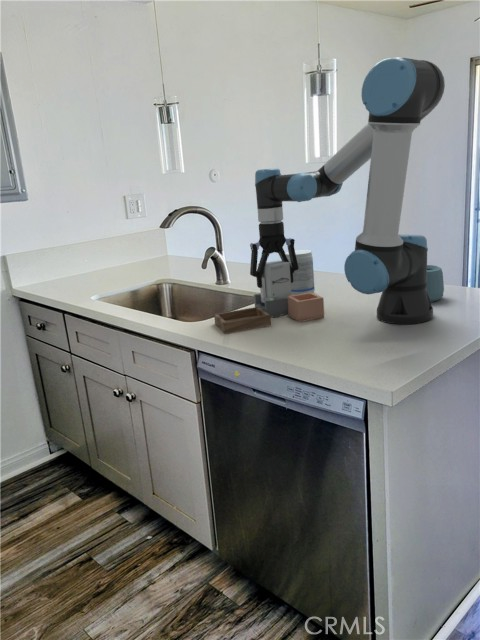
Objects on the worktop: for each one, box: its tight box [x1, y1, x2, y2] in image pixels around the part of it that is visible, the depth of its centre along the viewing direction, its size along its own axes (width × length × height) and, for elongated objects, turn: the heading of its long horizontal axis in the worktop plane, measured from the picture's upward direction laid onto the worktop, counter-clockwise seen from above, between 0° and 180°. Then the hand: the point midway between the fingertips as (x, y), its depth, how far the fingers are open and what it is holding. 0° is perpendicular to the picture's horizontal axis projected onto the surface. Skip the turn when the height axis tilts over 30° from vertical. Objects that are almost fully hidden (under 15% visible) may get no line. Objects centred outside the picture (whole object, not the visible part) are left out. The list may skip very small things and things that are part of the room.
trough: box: [213, 306, 272, 334], centre depth 154 cm, size 11×14×3 cm
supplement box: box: [257, 259, 291, 303], centre depth 163 cm, size 7×7×13 cm
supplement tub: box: [285, 249, 316, 295], centre depth 182 cm, size 10×10×15 cm
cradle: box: [253, 292, 295, 318], centre depth 164 cm, size 12×11×6 cm
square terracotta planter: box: [287, 292, 325, 323], centre depth 155 cm, size 8×8×6 cm
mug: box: [427, 264, 445, 303], centre depth 163 cm, size 15×11×10 cm
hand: (276, 295), depth 164 cm, fingers closed on supplement box, 8 cm apart
